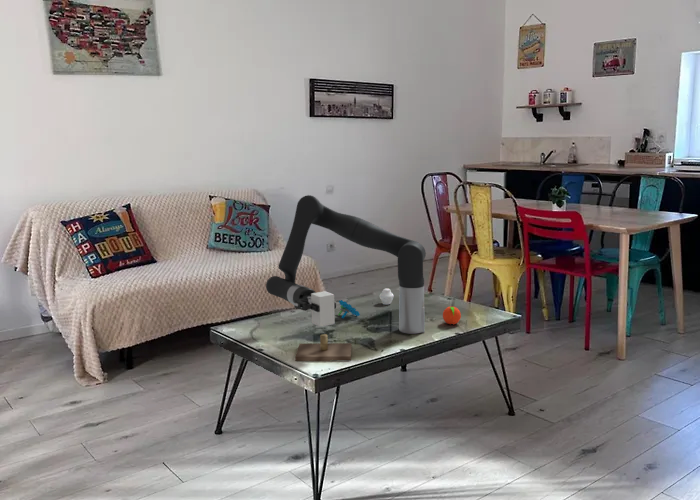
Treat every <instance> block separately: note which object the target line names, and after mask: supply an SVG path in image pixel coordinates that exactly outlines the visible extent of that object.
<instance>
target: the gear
mask: <svg viewBox="0 0 700 500" xmlns="http://www.w3.org/2000/svg"><path fill="white" fill-rule="evenodd" d="M347 302H348V301H346V300H345V301H343V300H342V299H339V300H338V303H339V305H340V311H339V313H338V314H337V316H340V315H341V314H342V313H343V314H342V316H341V317H340V318H341V319H345V317H346V315H347V314H349V313H351V314H352V316H353V315H354V316H356V317H359V316H360V315H361V314H360V312H359V311H358V310H357V309H356V308H355V307H353V305H352V304H350V303H347Z"/></svg>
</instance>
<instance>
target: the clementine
mask: <svg viewBox="0 0 700 500" xmlns="http://www.w3.org/2000/svg"><path fill="white" fill-rule="evenodd" d="M461 313H462V312H461V311H460V310H459V308H458V307H456V306H453V305H451V306H447V307H446V308H445V309H444V310H443V312H442V319H443V321H444V322H445V323H446V324H448V325H451V324H453V325H455V324H458V323H459V322H460V320H461V318H462V314H461Z"/></svg>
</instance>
